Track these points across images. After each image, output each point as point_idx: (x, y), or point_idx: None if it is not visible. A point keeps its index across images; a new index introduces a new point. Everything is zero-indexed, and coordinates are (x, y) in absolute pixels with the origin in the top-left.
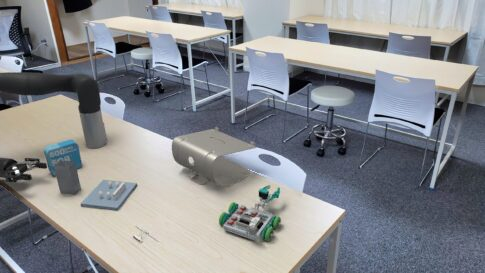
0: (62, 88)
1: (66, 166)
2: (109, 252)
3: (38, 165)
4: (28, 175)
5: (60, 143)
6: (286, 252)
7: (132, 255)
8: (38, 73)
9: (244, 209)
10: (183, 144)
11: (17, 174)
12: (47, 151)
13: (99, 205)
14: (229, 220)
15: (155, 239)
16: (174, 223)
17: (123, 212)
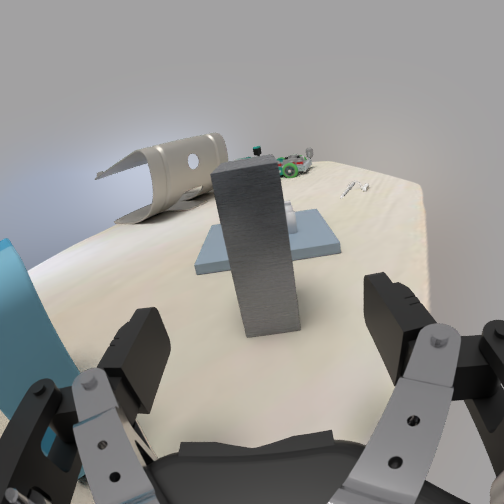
0: None
1: (268, 155)
2: (409, 192)
3: (141, 375)
4: (385, 276)
5: None
6: (313, 163)
7: (393, 184)
8: None
9: None
10: (166, 145)
11: (452, 341)
12: (18, 273)
13: (325, 222)
14: (299, 160)
15: (354, 183)
16: (312, 186)
17: (318, 211)
